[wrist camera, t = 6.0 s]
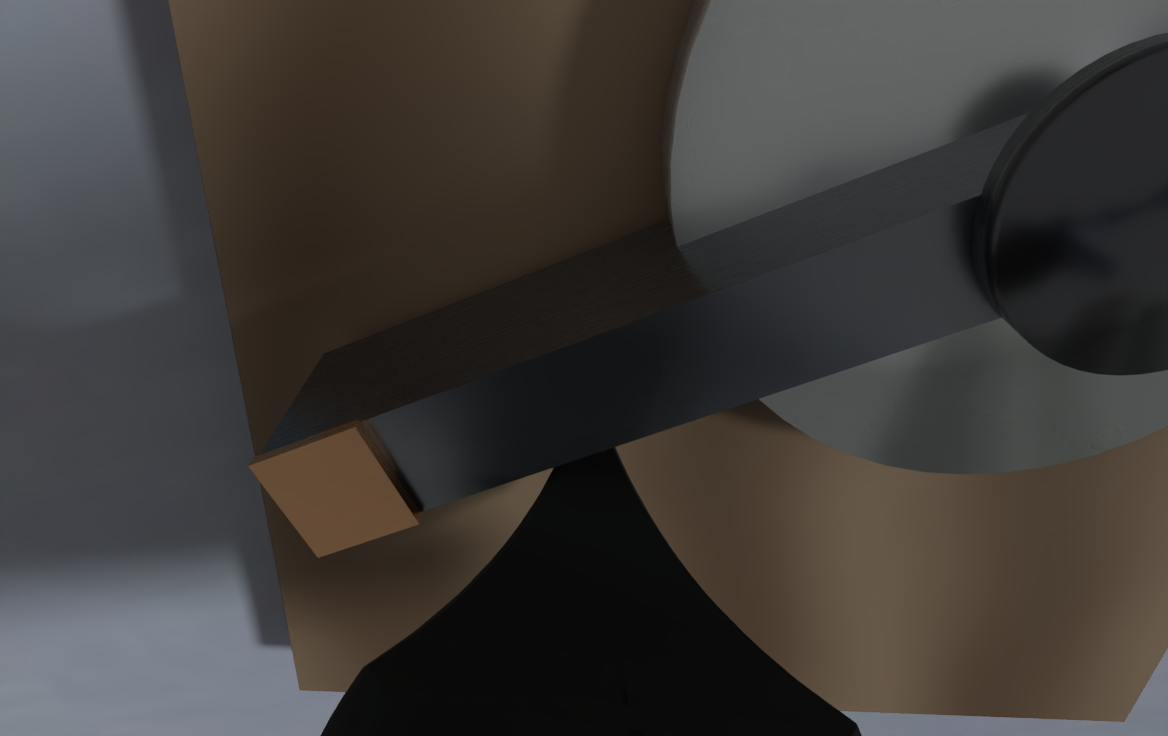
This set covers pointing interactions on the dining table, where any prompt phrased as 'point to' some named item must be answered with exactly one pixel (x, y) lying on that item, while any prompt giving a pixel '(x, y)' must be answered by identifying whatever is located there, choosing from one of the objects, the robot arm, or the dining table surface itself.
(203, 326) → the dining table surface
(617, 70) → the dial board
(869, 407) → the dial
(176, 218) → the dining table surface
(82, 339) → the dining table surface
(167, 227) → the dining table surface
